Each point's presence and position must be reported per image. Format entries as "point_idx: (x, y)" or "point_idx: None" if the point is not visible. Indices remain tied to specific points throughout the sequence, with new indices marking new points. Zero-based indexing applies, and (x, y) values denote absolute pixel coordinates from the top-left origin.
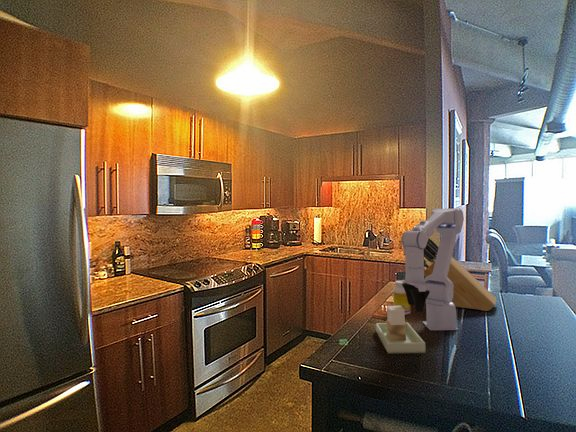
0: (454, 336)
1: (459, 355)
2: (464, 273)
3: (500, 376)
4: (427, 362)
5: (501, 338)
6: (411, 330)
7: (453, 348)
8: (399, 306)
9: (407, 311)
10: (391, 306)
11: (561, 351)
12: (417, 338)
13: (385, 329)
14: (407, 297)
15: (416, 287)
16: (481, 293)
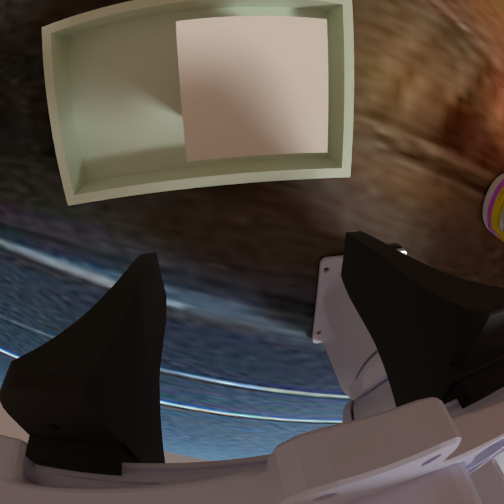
0: (259, 321)
1: (93, 295)
2: None
3: (14, 338)
4: (14, 182)
5: (243, 406)
6: (252, 169)
7: None
8: (299, 134)
9: (488, 219)
10: (306, 55)
11: (180, 449)
12: (149, 179)
13: (331, 47)
14: (380, 257)
15: (181, 467)
16: None
